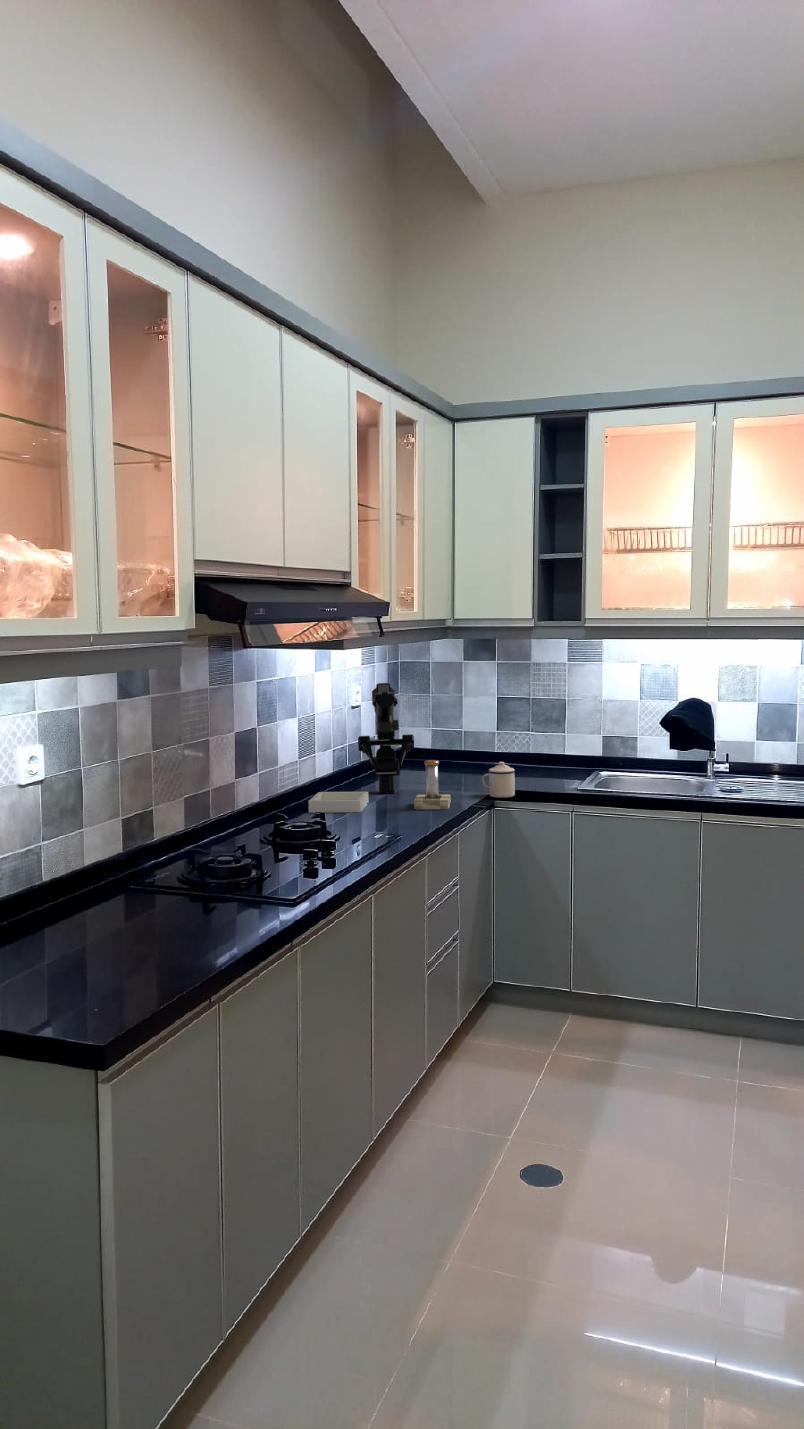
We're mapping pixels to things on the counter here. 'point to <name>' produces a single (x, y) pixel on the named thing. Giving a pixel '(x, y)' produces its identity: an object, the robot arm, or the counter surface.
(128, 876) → the counter surface
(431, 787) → the metal pin
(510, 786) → the teacup with lid
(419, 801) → the block
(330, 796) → the tray
